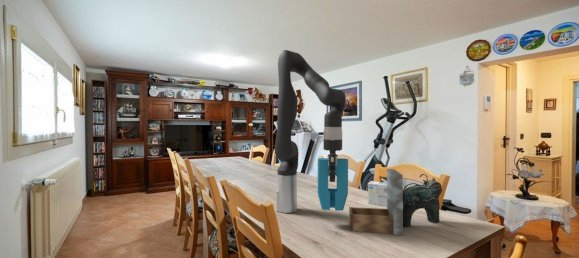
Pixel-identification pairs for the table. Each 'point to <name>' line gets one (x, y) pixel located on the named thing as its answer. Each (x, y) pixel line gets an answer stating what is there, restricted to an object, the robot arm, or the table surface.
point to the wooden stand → (382, 210)
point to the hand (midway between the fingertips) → (332, 180)
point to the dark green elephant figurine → (421, 200)
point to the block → (330, 195)
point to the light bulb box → (377, 193)
